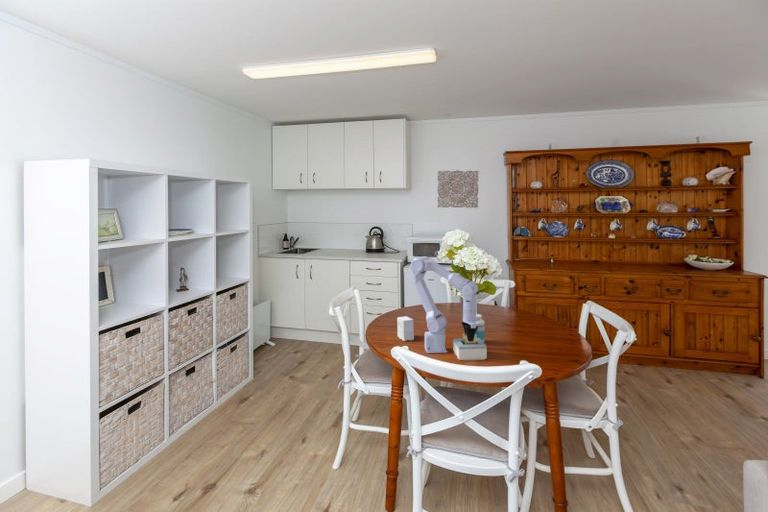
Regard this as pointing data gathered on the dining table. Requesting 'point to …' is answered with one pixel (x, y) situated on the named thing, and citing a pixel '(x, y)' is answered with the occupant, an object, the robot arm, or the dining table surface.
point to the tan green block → (469, 341)
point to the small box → (405, 328)
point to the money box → (469, 350)
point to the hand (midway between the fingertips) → (469, 339)
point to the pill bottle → (480, 327)
